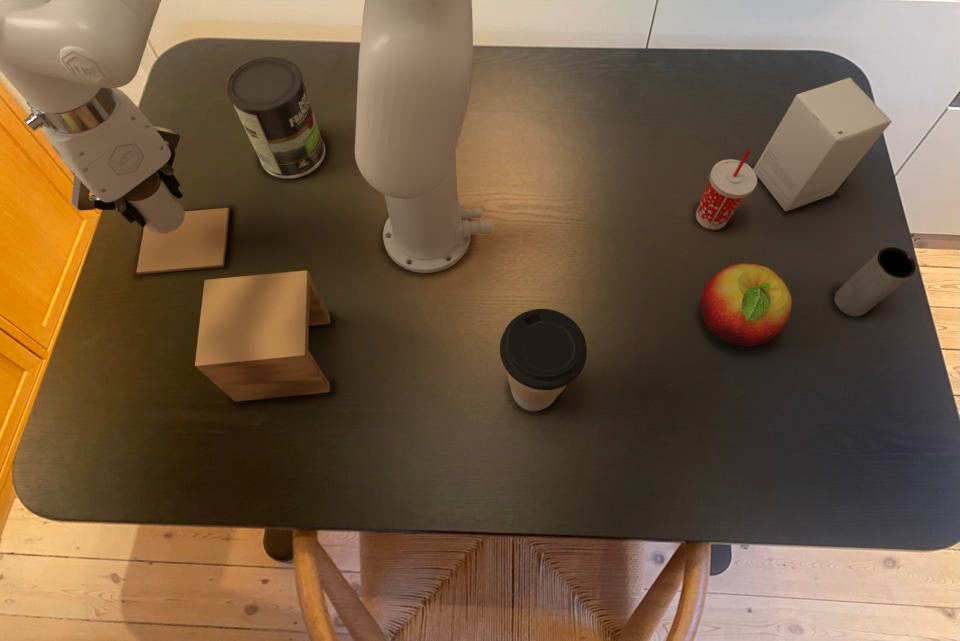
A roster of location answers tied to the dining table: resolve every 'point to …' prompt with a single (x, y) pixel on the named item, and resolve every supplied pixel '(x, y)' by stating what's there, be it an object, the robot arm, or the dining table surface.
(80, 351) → the dining table surface
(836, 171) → the white product box
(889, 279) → the grey hollow cylinder
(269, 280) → the brown piece
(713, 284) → the fruit
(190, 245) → the mat
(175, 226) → the bean jar
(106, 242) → the dining table surface
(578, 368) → the coffee cup
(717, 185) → the beverage cup
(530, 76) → the dining table surface
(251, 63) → the coffee can
